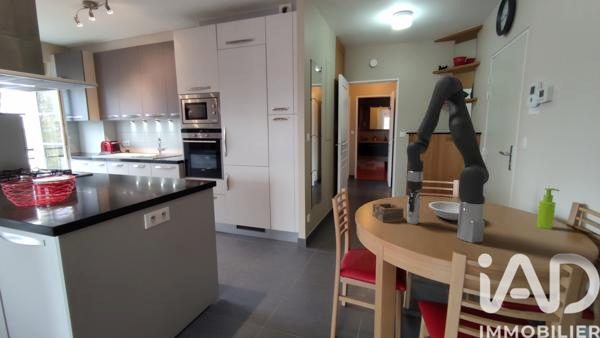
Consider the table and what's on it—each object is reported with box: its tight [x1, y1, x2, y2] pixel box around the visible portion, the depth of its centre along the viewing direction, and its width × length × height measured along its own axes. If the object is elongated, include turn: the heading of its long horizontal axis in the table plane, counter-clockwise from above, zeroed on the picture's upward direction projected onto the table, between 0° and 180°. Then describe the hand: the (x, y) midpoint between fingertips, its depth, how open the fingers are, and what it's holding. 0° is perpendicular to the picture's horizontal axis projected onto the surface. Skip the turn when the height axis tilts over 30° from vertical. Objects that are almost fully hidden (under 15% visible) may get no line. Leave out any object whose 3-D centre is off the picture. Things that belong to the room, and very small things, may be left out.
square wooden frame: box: [371, 202, 404, 223], centre depth 149 cm, size 12×12×7 cm
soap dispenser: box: [536, 187, 560, 230], centre depth 133 cm, size 6×7×20 cm
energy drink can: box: [406, 194, 421, 225], centre depth 140 cm, size 6×6×15 cm
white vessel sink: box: [428, 201, 460, 221], centre depth 148 cm, size 24×24×7 cm
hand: (413, 209), depth 140 cm, fingers open, 8 cm apart
